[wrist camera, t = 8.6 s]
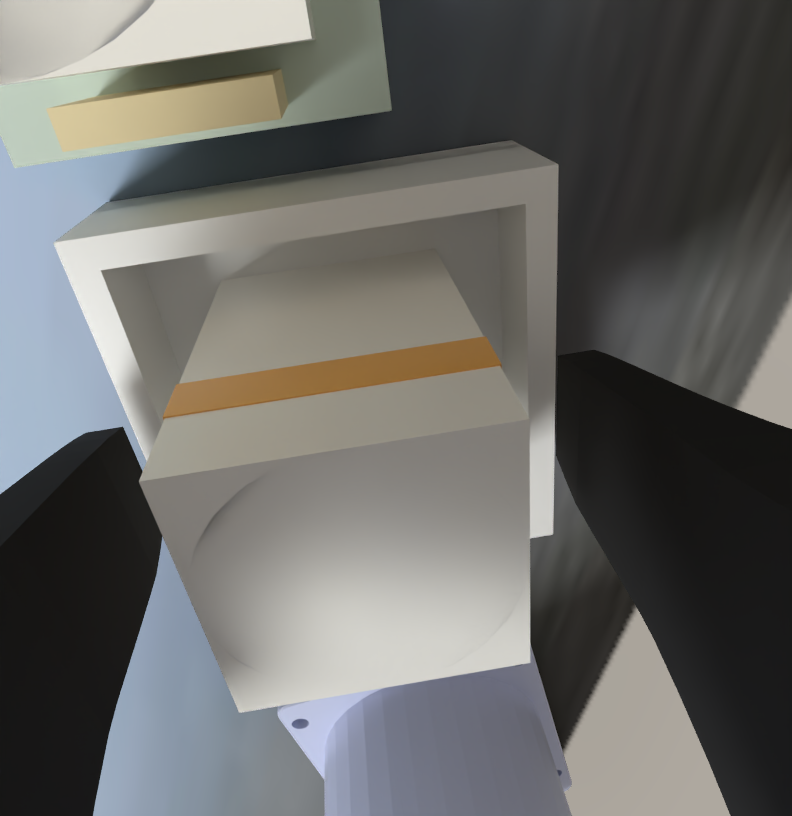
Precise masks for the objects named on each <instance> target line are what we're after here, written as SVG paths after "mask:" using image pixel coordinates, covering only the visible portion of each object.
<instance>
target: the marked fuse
mask: <svg viewBox="0 0 792 816" xmlns="http://www.w3.org/2000/svg"><path fill="white" fill-rule="evenodd" d="M163 420H164V421H163V424H162V426H161V429H160V431H159V433H158V436H157V438H156V441H155V443H154V446H153V448H152V450H151V453H150V455H149V458H148V460H147V463H146V465H145V467H144V470H143V472H142V475H141V477H140V480H139V483H140V486H141V488H142V490H143V493H144V495H145V497H146V499H147V502H148V504H149V506H150V509H151V511H152V513H153V516H154V518H155V520H156V522H157V525H158V527H159V529H160V532H161V534H162V536H163V538H164V541H165V543H166V545H167V548H168V550H169V552H170V555H171V557H172V559H173V561H174V564H175V566H176V568H177V571H178V573H179V575H180V577H181V580H182V582H183V584H184V587H185V589H186V591H187V594H188V596H189V598H190V600H191V603H192V605H193V607H194V610H195V612H196V614H197V616H198V619H199V621H200V623H201V626H202V628H203V630H204V633H205V635H206V637H207V639H208V642H209V644H210V646H211V649H212V651H213V653H214V655H215V658H216V660H217V662H218V665H219V667H220V669H221V672H222V674H223V676H224V678H225V681H226V683H227V685H228V688H229V690H230V692H231V694H232V697H233V699H234V701H235V704H236V706H237V708H238V711H239V713H241V712H247V711H253V710H259V709H264V708H270V707H276V706H282V705H288V704H293V703H299V702H305V701H311V700H317V699H323V698H328V697H334V696H340V695H346V694H352V693H358V692H363V691H369V690H375V689H381V688H387V687H392V686H398V685H404V684H410V683H416V682H422V681H427V680H433V679H439V678H445V677H451V676H456V675H462V674H468V673H474V672H480V671H486V670H491V669H497V668H503V667H509V666H515V665H521V664H526V663H530V419H529V417H528V415H527V414H526V412H525V410H524V408H523V406H522V405H521V403H520V401H519V399H518V397H517V396H516V394H515V392H514V390H513V388H512V387H511V385H510V383H509V381H508V379H507V378H506V376H505V374H504V372H503V370H502V364H501V362H500V360H499V359H498V357H497V355H496V353H495V351H494V350H493V348H492V346H491V344H490V343H489V341H488V339H487V337H486V336H483V334H482V332H481V331H480V329H479V327H478V325H477V323H476V322H475V320H474V318H473V316H472V314H471V313H470V311H469V309H468V307H467V305H466V304H465V302H464V300H463V298H462V296H461V295H460V293H459V291H458V289H457V287H456V285H455V284H454V282H453V280H452V278H451V276H450V275H449V273H448V271H447V269H446V267H445V266H444V264H443V262H442V260H441V258H440V257H439V255H438V253H437V251H436V249H428V250H422V251H415V252H408V253H402V254H395V255H389V256H382V257H375V258H369V259H362V260H355V261H349V262H342V263H335V264H329V265H322V266H315V267H309V268H302V269H296V270H289V271H282V272H276V273H269V274H262V275H256V276H249V277H242V278H236V279H229V280H223V281H221V283H220V285H219V287H218V290H217V292H216V295H215V297H214V300H213V302H212V304H211V307H210V309H209V312H208V314H207V317H206V319H205V321H204V324H203V326H202V329H201V331H200V334H199V336H198V338H197V341H196V343H195V346H194V348H193V351H192V353H191V356H190V358H189V360H188V363H187V365H186V368H185V370H184V373H183V375H182V377H181V380H180V382H179V384H176V386H175V388H174V391H173V393H172V396H171V398H170V400H169V403H168V405H167V407H166V410H165V412H164V415H163Z"/></svg>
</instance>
